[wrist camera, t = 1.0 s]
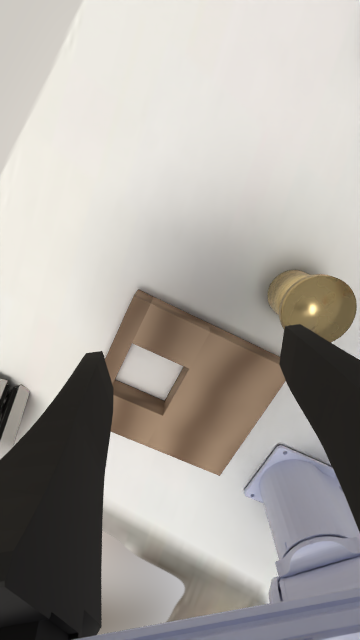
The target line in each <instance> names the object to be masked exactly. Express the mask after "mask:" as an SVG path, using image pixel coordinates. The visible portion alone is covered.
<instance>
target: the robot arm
mask: <svg viewBox="0 0 360 640" xmlns="http://www.w3.org/2000/svg"><path fill="white" fill-rule="evenodd" d="M279 365H280V367H281V370H282V373H283V375H284V377H285V380H286V382H287V384H288V387H289V388H290V390H291V392H292V394H293V395H294V397H295V399H296V401H297V402H298V404H299V406H300V407H301V409H302V411H303V413H304V414H305V416H306V418H307V419H308V421H309V423H310V424H311V426H312V428H313V430H314V431H315V433H316V435H317V436H318V438H319V440H320V442H321V444H322V446H323V448H324V450H325V452H326V454H327V457H328V459H329V461H330V463H331V465H332V467H331V466H328V465H326V464H324V463H321V462H319V461H317V460H315V459H312V458H310V457H308V456H305V455H303V454H301V453H298V452H296V451H294V450H292V449H289V448H287V447H285V446H282V445H279V446H277V447H276V449H275V450H274V451H273V453H272V454H271V455H270V457H269V458H268V459H267V461H266V462H265V463H264V465H263V466H262V467H261V469H260V470H259V471H258V473H257V474H256V475H255V477H254V478H253V479H252V481H251V482H250V483H249V485H248V486H247V487H246V489H245V490H244V494H245V496H247V497H249V498H252V499H254V500H257V501H259V502H262V503H264V507H265V511H266V514H267V518H268V522H269V525H270V529H271V532H272V536H273V540H274V543H275V547H276V551H277V554H278V558H279V560H278V561H276V562H275V564H276V567H277V571H278V575H279V577H275V578H273V579H272V580H271V586H270V589H269V601H270V603H269V604H264V605H258V606H253V607H247V608H242V609H237V610H231V611H226V612H220V613H215V614H209V615H204V616H198V617H193V618H188V619H182V620H177V621H171V622H166V623H160V624H155V625H150V626H144V627H139V628H133V629H128V630H122V631H118V632H111V633H107V634H101V635H97V633H98V632H99V630H100V628H101V555H102V515H103V491H104V476H105V467H106V460H107V453H108V446H109V439H110V432H111V425H112V417H113V395H114V388H113V385H112V381H111V378H110V375H109V372H108V368H107V365H106V362H105V359H104V355H103V352H102V351H100V352H92V353H86V354H85V356H84V357H83V358H82V360H81V361H80V363H79V364H78V366H77V368H76V369H75V371H74V372H73V374H72V375H71V376H70V378H69V379H68V381H67V382H66V384H65V385H64V386H63V388H62V389H61V391H60V392H59V393H58V395H57V396H56V398H55V399H54V400H53V402H52V403H51V404H50V405H49V407H48V408H47V409H46V410H45V412H44V413H43V414H42V415H41V417H40V418H39V419H38V420H37V421H36V423H35V424H34V425H33V426H32V427H31V428H30V430H29V431H28V432H27V433H26V434H25V435H24V436H23V437H22V438H21V439H20V441H19V442H18V443H17V444H16V445H15V446H14V447H13V448H12V449H11V450H10V451H9V452H8V453H7V454H5V455H4V456H3V457H2V458H1V459H0V640H360V360H359V359H357V358H355V357H354V356H352V355H350V354H348V353H347V352H345V351H343V350H342V349H340V348H338V347H337V346H335V345H334V344H332V343H330V342H329V341H327V340H326V339H324V338H322V337H321V336H319V335H318V334H316V333H314V332H313V331H311V330H309V329H308V328H306V327H304V326H303V325H301V324H296V325H289V326H285V329H284V336H283V342H282V349H281V356H280V363H279ZM284 451H286V452H284Z"/></svg>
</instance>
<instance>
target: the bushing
mask: <svg viewBox="0 0 360 640" xmlns="http://www.w3.org/2000/svg"><path fill="white" fill-rule="evenodd" d="M268 302H269V304H270V306H271V308H272V309H273V310H274V311H275V312H276V313H277V314H278V315H279V319H280V322H281V325H282V327H283V329H285V326H289V325H296V324H301V325H303V326H304V327H306V328H308V329H309V330H311V331H313V332H314V333H316V334H318V335H319V336H321V337H322V338H324V339H326V340H327V341H329V342H330V343H331V342H333V341H335V340H336V339H338V338H339V337H341V336H342V335H343V334H344V333H345V332H346V331H347V330H348V329H349V327H350V326H351V324H352V322H353V320H354V318H355V314H356V307H357V305H356V298H355V295H354V293H353V291H352V289H351V288H350V287H349V286H348V285H347V284H346V283H345V282H343V281H342V280H340V279H338V278H335V277H332V276H329V275H324V274H315V275H309V274H307V273H305V272H302V271H299V270H289V271H286V272H283V273H281V274H280V275H278V276H277V277H276V278H275V279H274V280H273V281H272V283H271V284H270V286H269V289H268Z"/></svg>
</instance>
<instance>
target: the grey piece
mask: <svg viewBox="0 0 360 640" xmlns="http://www.w3.org/2000/svg"><path fill="white" fill-rule="evenodd" d="M7 381H8V380H3V379H0V459H1V458H2V457H3V456H4V455H5V454H7V453H8V452H9V451H10V450H11V449H12V447H13V445H14V441H15V438H16V435H17V432H18V428H19V425H20V422H21V419H22V415H23V412H24V409H25V406H26V402H27V399H28V396H29V393H30V391H29V390H28V389H27V388H25V387H24V386H22V385H20V386H19V387H18V388H15V387H14V388H13V390H12V391H11V393H10V394H9V395H8V397H7V398H5V397H6V394H7V392H8V389H9V385H7V384H6V383H7Z"/></svg>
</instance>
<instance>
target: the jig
mask: <svg viewBox="0 0 360 640" xmlns="http://www.w3.org/2000/svg"><path fill="white" fill-rule="evenodd" d="M132 343H133V344H135V345H138V346H140V347H142V348H144V349H146V350H149V351H151V352H153V353H155V354H158V355H160V356H162V357H164V358H166V359H169V360H171V361H173V362H175V363H178V364H180V365H182V366H184V367H183V369H182V371H181V373H180V374H179V376H178V378H177V380H176V382H175V383H174V385H173V387H172V389H171V391H170V392H169V394H168V396H167V398H166V400H165V401H163V400H161V399H159V398H156V397H154V396H152V395H149V394H147V393H145V392H142V391H140V390H138V389H135V388H133V387H131V386H128V385H126V384H124V383H121V382H119V381H117V380H115V378H116V376H117V374H118V372H119V370H120V367H121V365H122V363H123V361H124V359H125V357H126V355H127V353H128V351H129V349H130V346H131V344H132ZM105 362H106V365H107V368H108V372H109V375H110V378H111V381H112V385H113V388H114V395H113V417H112V425H111V432H113V433H116V434H118V435H121V436H123V437H126V438H128V439H131V440H133V441H135V442H138V443H140V444H143V445H145V446H148V447H150V448H153V449H155V450H158V451H160V452H162V453H165V454H167V455H170V456H172V457H175V458H177V459H180V460H182V461H185V462H187V463H190V464H192V465H194V466H197V467H199V468H202V469H204V470H207V471H209V472H212V473H214V474H217V475H219V476H220V475H221V473H222V472H223V470H224V469H225V467H226V466H227V465H228V463H229V462H230V460H231V459H232V457H233V456H234V454H235V453H236V452H237V450H238V449H239V447H240V446H241V444H242V443H243V441H244V440H245V439H246V437H247V436H248V434H249V433H250V431H251V430H252V428H253V427H254V426H255V424H256V423H257V421H258V420H259V418H260V417H261V416H262V414H263V413H264V411H265V410H266V408H267V407H268V405H269V404H270V403H271V401H272V400H273V398H274V397H275V395H276V394H277V392H278V391H279V390H280V388H281V387H282V385H283V384H284V382H285V381H286V380H285V377H284V375H283V373H282V370H281V367H280V365H279V363H280V357H279V356H277V355H275V354H273V353H270V352H268V351H266V350H264V349H262V348H260V347H258V346H256V345H254V344H252V343H249V342H247V341H245V340H243V339H241V338H239V337H237V336H235V335H233V334H231V333H229V332H226V331H224V330H222V329H220V328H218V327H216V326H214V325H212V324H210V323H208V322H205V321H203V320H201V319H199V318H197V317H195V316H193V315H191V314H189V313H187V312H185V311H182V310H180V309H178V308H176V307H174V306H172V305H170V304H168V303H166V302H164V301H161V300H159V299H157V298H155V297H153V296H151V295H149V294H147V293H145V292H143V291H141V290H138V291H137V292H136V293H135V295H134V296H133V299H132V301H131V303H130V305H129V307H128V310H127V312H126V314H125V316H124V319H123V321H122V323H121V325H120V327H119V330H118V332H117V334H116V336H115V338H114V341H113V343H112V345H111V347H110V350H109V352H108V354H107V356H106V358H105Z"/></svg>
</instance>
